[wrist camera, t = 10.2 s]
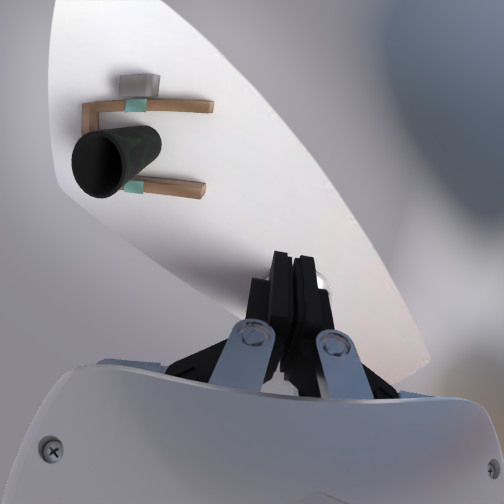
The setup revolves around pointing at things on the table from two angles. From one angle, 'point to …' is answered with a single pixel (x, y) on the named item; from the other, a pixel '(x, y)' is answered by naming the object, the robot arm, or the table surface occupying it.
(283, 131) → the table surface
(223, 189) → the table surface
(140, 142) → the cup
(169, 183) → the beam slot
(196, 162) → the table surface
